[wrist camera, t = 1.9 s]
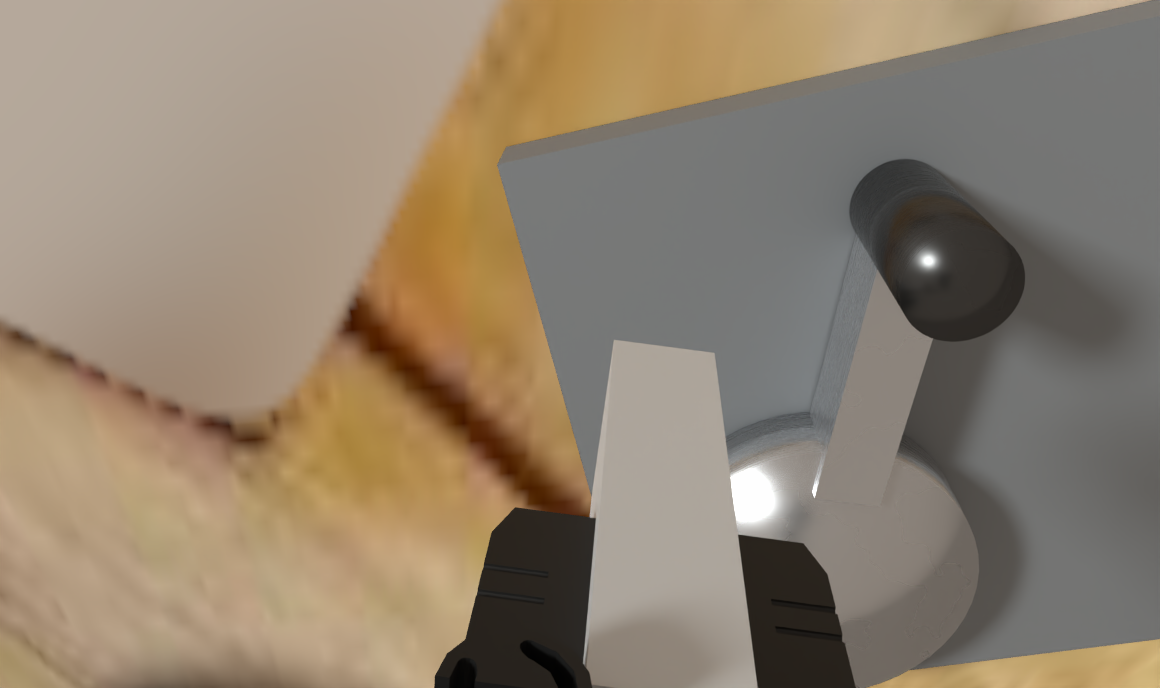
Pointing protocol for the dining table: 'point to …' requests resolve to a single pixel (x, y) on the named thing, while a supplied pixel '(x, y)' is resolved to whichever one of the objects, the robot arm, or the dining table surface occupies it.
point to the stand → (952, 369)
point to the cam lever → (883, 423)
